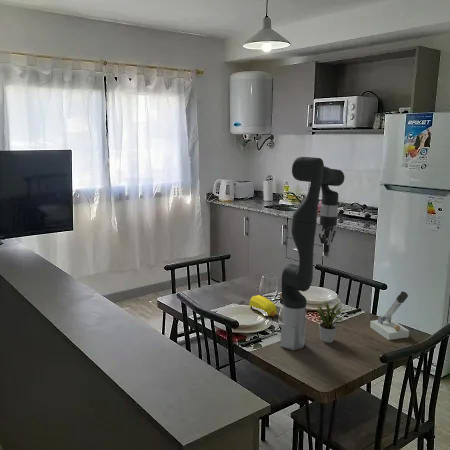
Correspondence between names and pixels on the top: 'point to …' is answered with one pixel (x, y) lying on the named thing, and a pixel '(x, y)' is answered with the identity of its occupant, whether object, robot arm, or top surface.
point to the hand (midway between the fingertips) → (326, 252)
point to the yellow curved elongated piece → (263, 304)
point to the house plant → (328, 323)
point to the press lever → (395, 306)
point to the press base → (389, 329)
